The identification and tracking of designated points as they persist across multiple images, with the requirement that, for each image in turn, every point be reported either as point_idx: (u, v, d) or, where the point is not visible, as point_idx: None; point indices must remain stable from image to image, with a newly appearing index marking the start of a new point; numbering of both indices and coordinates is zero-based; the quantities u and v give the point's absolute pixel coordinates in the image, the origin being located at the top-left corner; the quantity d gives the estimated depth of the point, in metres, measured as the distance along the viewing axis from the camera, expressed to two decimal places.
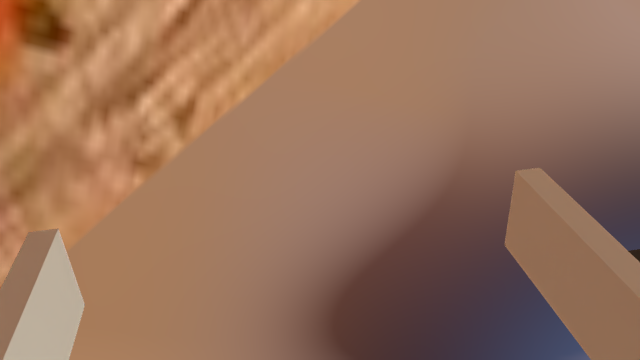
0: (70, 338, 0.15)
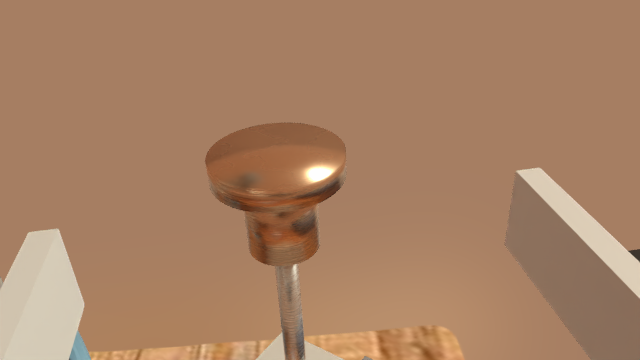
0: (70, 338, 0.15)
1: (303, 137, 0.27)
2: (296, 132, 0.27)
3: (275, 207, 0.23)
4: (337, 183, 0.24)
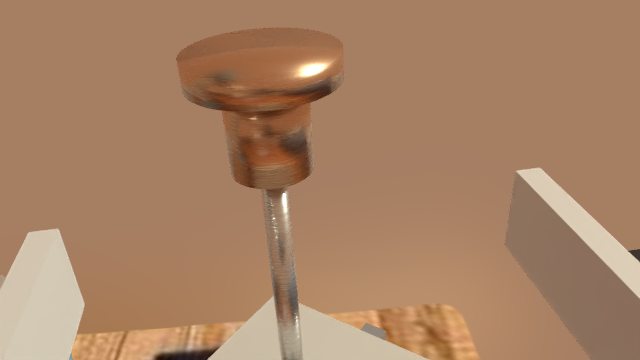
0: (70, 338, 0.15)
1: (293, 38, 0.23)
2: (285, 35, 0.23)
3: (258, 104, 0.19)
4: (333, 81, 0.20)
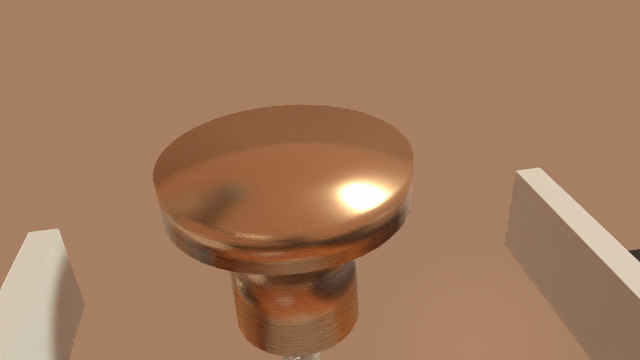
0: (70, 338, 0.15)
1: (331, 128, 0.15)
2: (318, 120, 0.16)
3: (285, 264, 0.12)
4: (401, 212, 0.13)
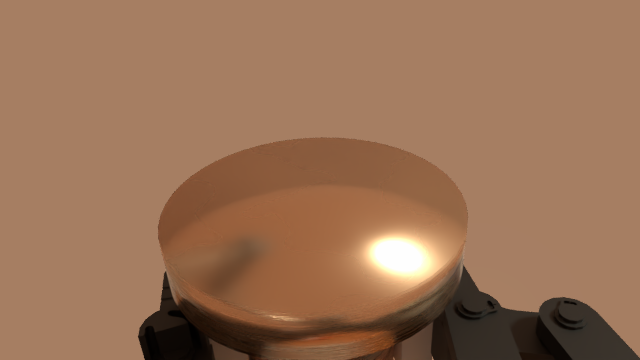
0: None
1: (365, 169, 0.13)
2: (349, 158, 0.13)
3: (320, 350, 0.10)
4: (456, 279, 0.11)
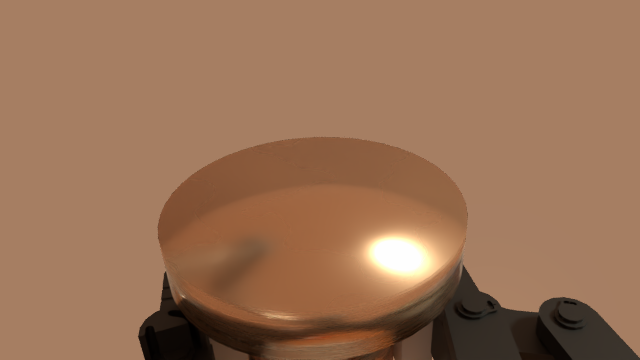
0: None
1: (365, 168, 0.13)
2: (349, 158, 0.13)
3: (319, 349, 0.10)
4: (455, 279, 0.11)
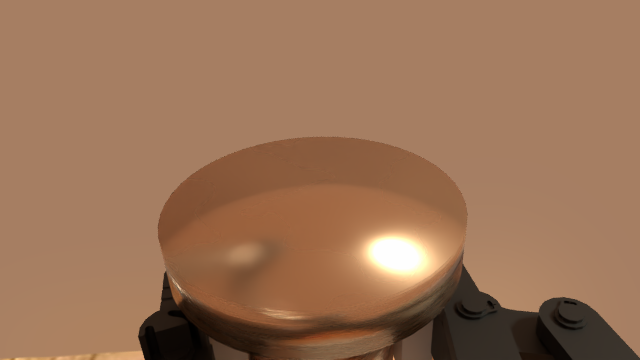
0: None
1: (365, 168, 0.13)
2: (349, 157, 0.13)
3: (319, 349, 0.10)
4: (455, 278, 0.11)
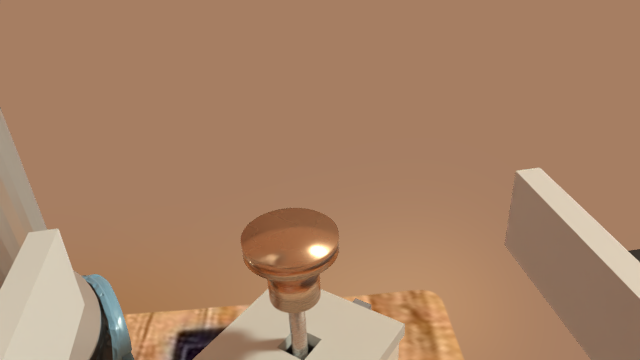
0: (70, 338, 0.15)
1: (308, 221, 0.38)
2: (303, 217, 0.38)
3: (290, 277, 0.34)
4: (332, 258, 0.35)
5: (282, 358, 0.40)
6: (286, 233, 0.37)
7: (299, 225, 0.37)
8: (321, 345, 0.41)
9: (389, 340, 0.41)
